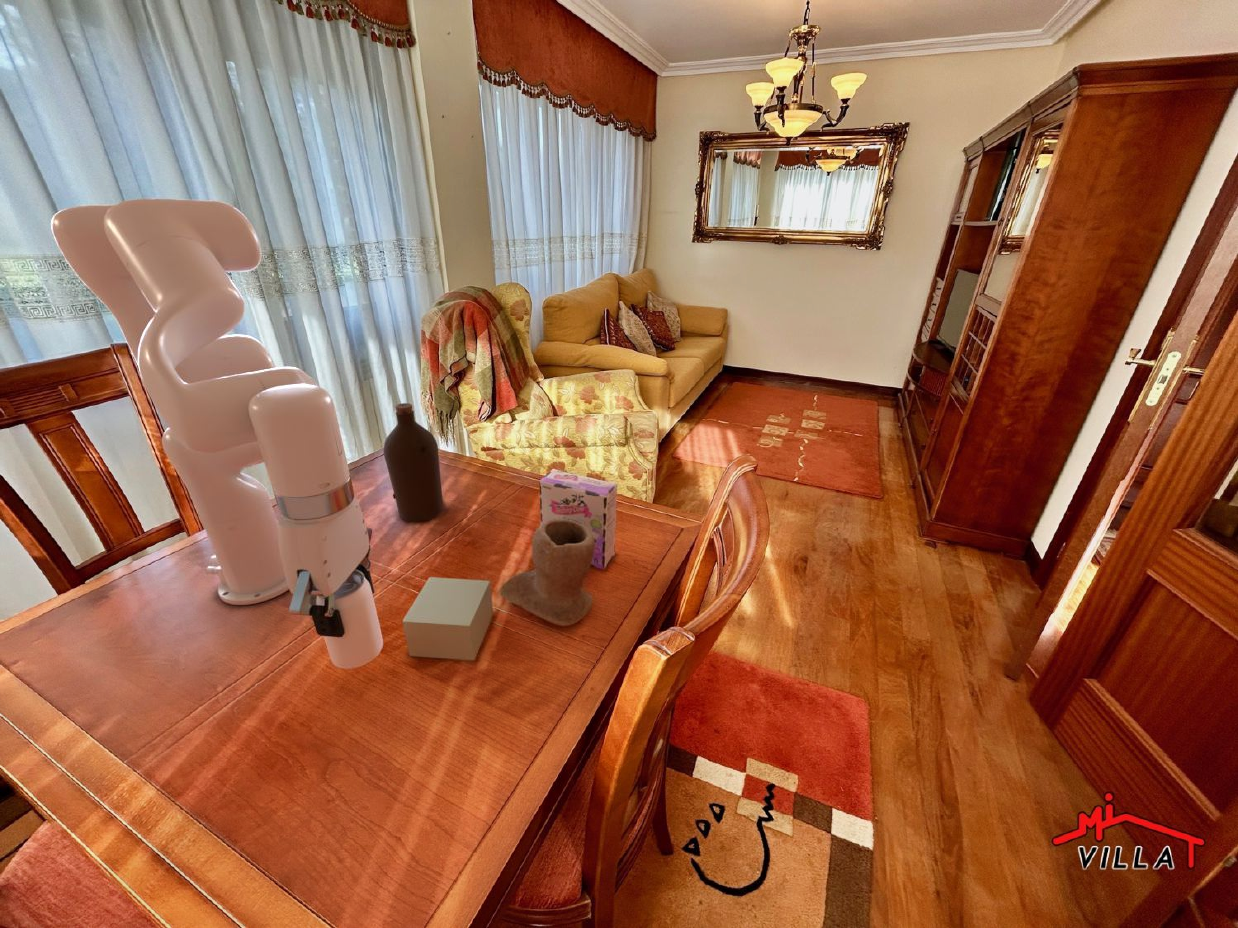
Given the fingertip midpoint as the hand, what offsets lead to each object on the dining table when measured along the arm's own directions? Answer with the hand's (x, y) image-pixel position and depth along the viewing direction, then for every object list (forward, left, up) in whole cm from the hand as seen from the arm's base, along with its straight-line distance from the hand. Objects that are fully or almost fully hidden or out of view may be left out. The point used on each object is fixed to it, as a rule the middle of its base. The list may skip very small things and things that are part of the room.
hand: (347, 612), depth 65 cm
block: (+8, +11, -14) cm, 19 cm away
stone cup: (+23, +20, -14) cm, 33 cm away
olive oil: (-12, +46, -14) cm, 49 cm away
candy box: (+25, +34, -14) cm, 44 cm away
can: (0, 0, -7) cm, 7 cm away
